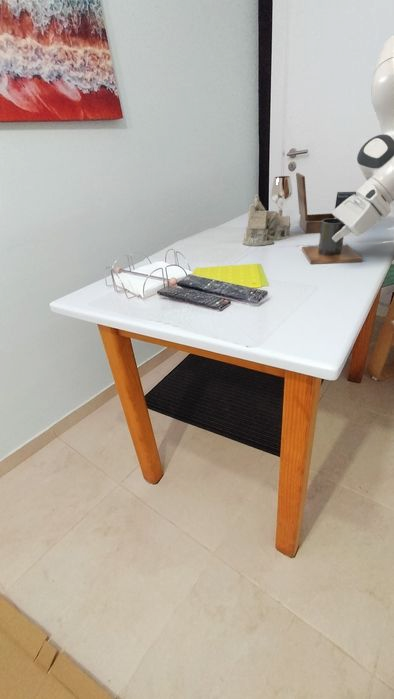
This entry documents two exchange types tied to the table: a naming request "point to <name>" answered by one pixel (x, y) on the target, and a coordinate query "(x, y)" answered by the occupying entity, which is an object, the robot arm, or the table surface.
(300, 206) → the bread box lid
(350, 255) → the board
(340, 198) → the box
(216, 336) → the table surface
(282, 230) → the ceramic cottage
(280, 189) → the wineglass
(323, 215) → the bread box
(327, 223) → the dark grey cup
